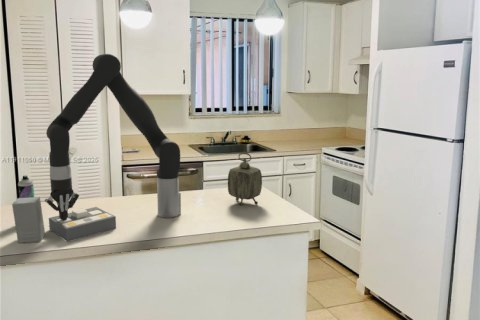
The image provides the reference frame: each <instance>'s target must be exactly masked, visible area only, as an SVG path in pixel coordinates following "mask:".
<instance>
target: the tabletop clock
mask: <svg viewBox="0 0 480 320" xmlns="http://www.w3.org/2000/svg"><path fill="white" fill-rule="evenodd" d="M241 155H247V156H249V159H247V158H243V159H242V158H240V156H241ZM238 159H239V160H240V161H242V162H241V163H240V164H239V165H238V166H235V167H233V168H230V169H229V171H228V175H227V190H228V191H227V192H228V194H229V195H230V196H231V197H234V198H235V200H236V201H239V200H240V202H239V205H240V206H243V205H244V203H243V201H244V200H252V201H253V202H254V205H258V201H257V200H256V199H255V198H257V197H259V196H260V195H261V193H262V189H263V188H262V186H263V175H262V171H261V169H260V168H258V167H255V166H251V165H250V163H249V162H251V161H252V156H251V154H249V152H240V153H239V154H238Z"/></svg>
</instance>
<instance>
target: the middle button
mask: <svg viewBox="0 0 480 320" xmlns="http://www.w3.org/2000/svg"><path fill="white" fill-rule="evenodd" d="M85 209H86V208H78V209H74V210H72V211H71V213H72V217H74V218H76V219H79V218H83V217H87V216H88V211H87V210H85Z"/></svg>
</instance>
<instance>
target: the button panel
mask: <svg viewBox="0 0 480 320" xmlns="http://www.w3.org/2000/svg"><path fill="white" fill-rule="evenodd" d="M84 209H85V210H87V211H88V212H90V211H94V210H99V211H101V212H103V213H100V214H96V215H91V214H89V213H88V216H87V217H83V218H79V219H76V218H74V217H72V212H68V218H70V219H71V221H67V222H63V223H59V222H58V221H56V220H57V219H60V218H59V215H55V216H51V217H48V224H49V226H48V227H49V231H51V232H52V233H53V234H55V235H57V236H58V237H59V238H61V239H62V240H64V241H66V242H71V241H75V240H79V239H83V238H87V237H89V236H93V235H97V234H100V233H101V234H102V233H104V232H108V231H111V230H114V229H117V220H116V219H117V218H116V216H115V215H114V214H111V213H109V212H108V211H105V210H103V209H102V208H99V207H97V206H94V207H90V208H84Z"/></svg>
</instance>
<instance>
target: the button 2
mask: <svg viewBox="0 0 480 320" xmlns="http://www.w3.org/2000/svg"><path fill="white" fill-rule="evenodd" d="M88 213H89V214H91V215H96V214H100V213H103V212H101V211H99V210H94V211H90V212H88Z"/></svg>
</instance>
